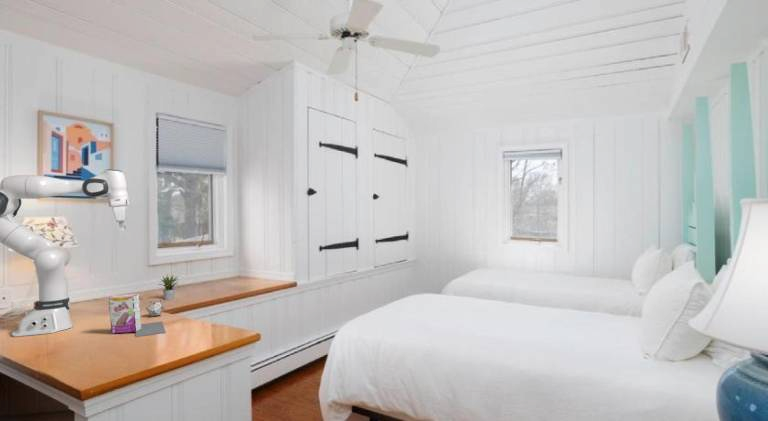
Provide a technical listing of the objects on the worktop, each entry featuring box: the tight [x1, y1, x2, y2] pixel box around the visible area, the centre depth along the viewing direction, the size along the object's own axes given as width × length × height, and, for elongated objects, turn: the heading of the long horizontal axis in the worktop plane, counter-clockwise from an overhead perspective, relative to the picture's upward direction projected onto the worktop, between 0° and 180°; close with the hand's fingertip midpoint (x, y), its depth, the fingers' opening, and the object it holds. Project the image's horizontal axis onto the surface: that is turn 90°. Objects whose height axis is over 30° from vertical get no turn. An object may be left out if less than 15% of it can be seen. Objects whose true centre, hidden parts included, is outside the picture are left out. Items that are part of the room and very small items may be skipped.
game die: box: [145, 300, 166, 318], centre depth 227 cm, size 9×8×10 cm
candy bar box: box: [108, 293, 142, 335], centre depth 195 cm, size 11×5×16 cm, turn 92°
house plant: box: [158, 274, 180, 301], centre depth 276 cm, size 14×14×16 cm
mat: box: [135, 321, 166, 338], centre depth 200 cm, size 12×24×1 cm, turn 30°
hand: (123, 230), depth 212 cm, fingers open, 8 cm apart
